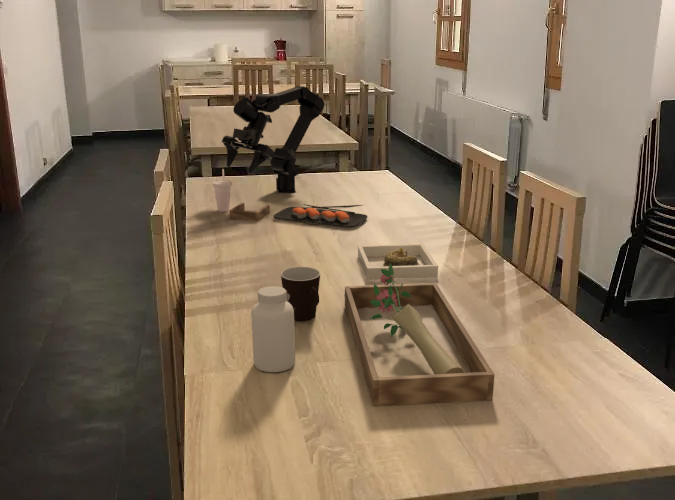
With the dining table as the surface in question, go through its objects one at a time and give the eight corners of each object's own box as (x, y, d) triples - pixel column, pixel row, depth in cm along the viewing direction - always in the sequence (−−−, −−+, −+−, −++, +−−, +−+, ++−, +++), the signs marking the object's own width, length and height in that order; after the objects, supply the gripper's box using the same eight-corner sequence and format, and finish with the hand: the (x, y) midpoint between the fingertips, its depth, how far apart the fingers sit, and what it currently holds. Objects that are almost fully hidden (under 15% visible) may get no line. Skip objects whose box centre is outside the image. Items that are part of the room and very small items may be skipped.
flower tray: (435, 303, 164) (436, 283, 162) (492, 399, 124) (494, 374, 122) (344, 306, 162) (344, 286, 160) (372, 406, 122) (373, 380, 120)
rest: (241, 210, 239) (241, 202, 238) (269, 213, 236) (269, 204, 235) (229, 218, 230) (229, 210, 229) (258, 221, 227) (258, 212, 226)
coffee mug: (281, 308, 161) (280, 267, 158) (319, 307, 162) (319, 266, 159) (282, 330, 150) (280, 286, 147) (322, 329, 151) (322, 285, 148)
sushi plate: (269, 222, 228) (269, 211, 227) (308, 200, 254) (308, 190, 253) (354, 232, 218) (354, 220, 216) (385, 208, 244) (385, 197, 243)
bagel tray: (422, 254, 197) (422, 243, 196) (437, 277, 180) (438, 266, 179) (357, 256, 195) (358, 245, 194) (367, 279, 178) (367, 268, 177)
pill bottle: (271, 350, 141) (269, 280, 137) (303, 361, 137) (302, 289, 132) (244, 366, 135) (241, 293, 130) (277, 378, 131) (275, 302, 126)
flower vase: (428, 423, 130) (355, 313, 158) (486, 395, 132) (404, 292, 160) (419, 379, 123) (345, 273, 151) (481, 351, 125) (396, 251, 153)
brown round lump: (395, 278, 182) (394, 258, 180) (375, 266, 190) (374, 247, 188) (427, 268, 186) (426, 249, 184) (406, 258, 194) (405, 239, 192)
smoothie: (229, 213, 236) (227, 171, 231) (211, 212, 237) (208, 170, 233) (235, 208, 242) (233, 167, 237) (217, 207, 243) (215, 166, 239)
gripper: (222, 113, 243) (204, 154, 241) (267, 123, 235) (249, 166, 233) (238, 127, 253) (221, 167, 251) (281, 137, 245) (265, 178, 243)
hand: (238, 169), depth 244 cm, fingers open, 9 cm apart
